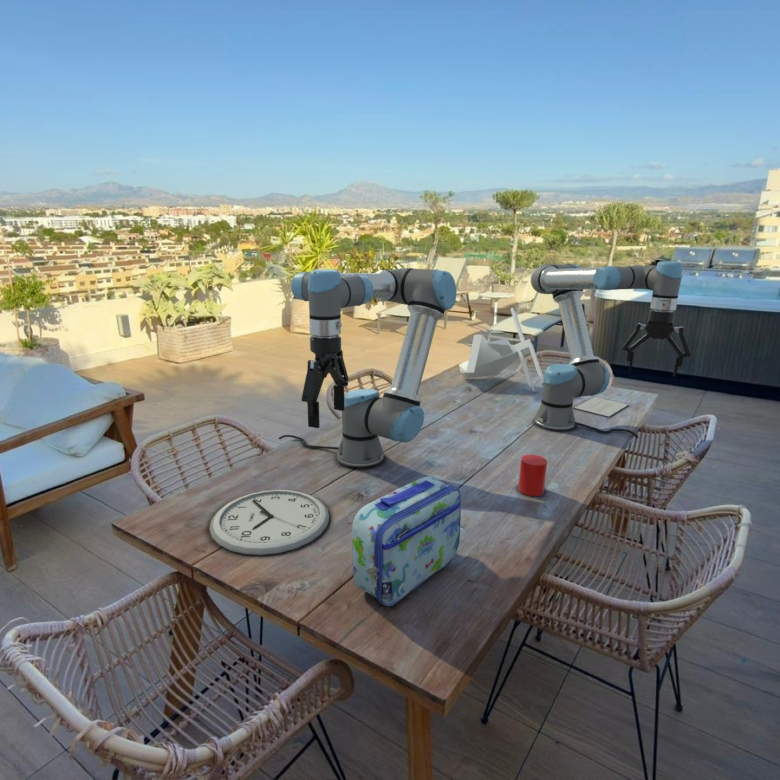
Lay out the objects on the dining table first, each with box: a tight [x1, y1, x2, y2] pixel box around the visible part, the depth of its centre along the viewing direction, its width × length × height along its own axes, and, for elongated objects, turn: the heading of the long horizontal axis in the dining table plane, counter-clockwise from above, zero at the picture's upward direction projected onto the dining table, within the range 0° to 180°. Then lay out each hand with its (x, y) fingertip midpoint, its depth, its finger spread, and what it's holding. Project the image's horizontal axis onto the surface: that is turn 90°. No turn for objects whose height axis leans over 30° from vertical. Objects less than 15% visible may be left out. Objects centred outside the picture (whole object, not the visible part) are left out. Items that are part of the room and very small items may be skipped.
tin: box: [517, 454, 548, 497], centre depth 152 cm, size 7×7×10 cm
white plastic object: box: [458, 307, 544, 393], centre depth 256 cm, size 37×45×31 cm
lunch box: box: [351, 476, 462, 607], centre depth 111 cm, size 26×11×21 cm, turn 135°
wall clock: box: [209, 489, 330, 556], centre depth 135 cm, size 30×2×30 cm
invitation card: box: [573, 396, 629, 418], centre depth 226 cm, size 21×1×15 cm
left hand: (327, 418), depth 132 cm, fingers open, 13 cm apart
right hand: (651, 373), depth 176 cm, fingers open, 13 cm apart
